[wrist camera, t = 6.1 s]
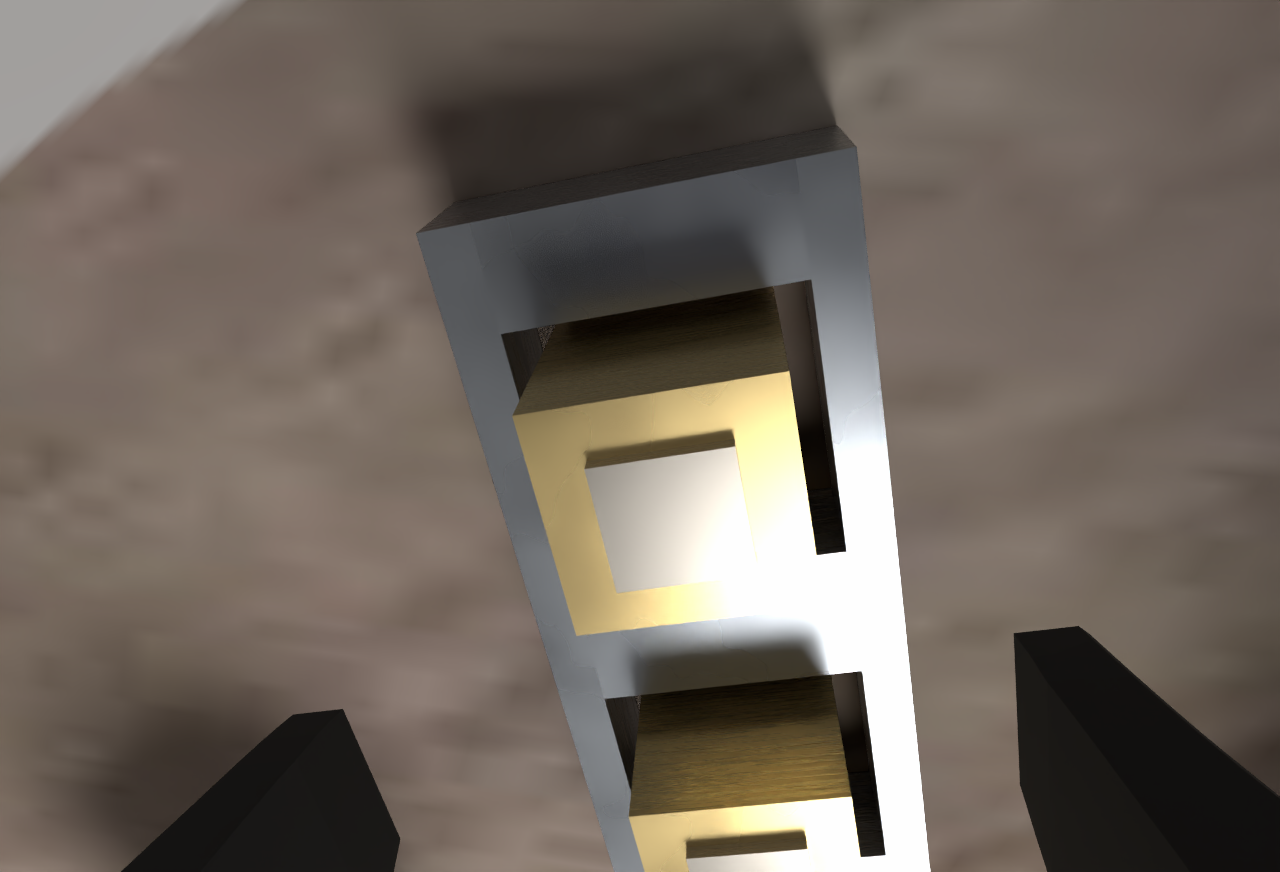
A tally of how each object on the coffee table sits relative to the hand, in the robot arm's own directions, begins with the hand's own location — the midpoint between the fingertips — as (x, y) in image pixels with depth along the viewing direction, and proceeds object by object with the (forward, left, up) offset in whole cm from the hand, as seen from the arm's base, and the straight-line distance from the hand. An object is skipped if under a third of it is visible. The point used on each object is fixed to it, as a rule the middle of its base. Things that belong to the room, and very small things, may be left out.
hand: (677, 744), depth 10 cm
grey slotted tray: (-4, 0, -9) cm, 10 cm away
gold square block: (0, 0, -10) cm, 10 cm away
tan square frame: (-8, 0, -10) cm, 12 cm away
